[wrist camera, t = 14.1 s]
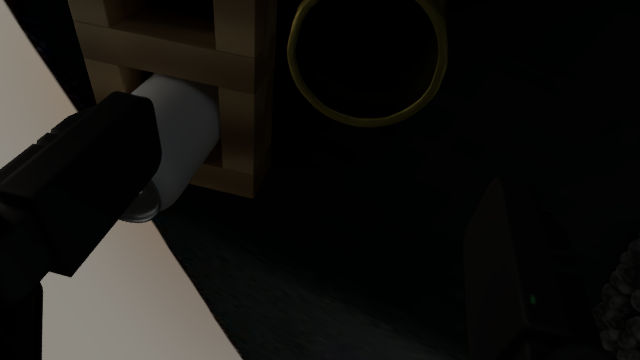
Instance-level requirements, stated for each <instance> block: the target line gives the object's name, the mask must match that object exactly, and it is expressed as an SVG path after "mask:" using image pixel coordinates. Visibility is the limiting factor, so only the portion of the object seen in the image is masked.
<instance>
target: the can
mask: <svg viewBox="0 0 640 360" xmlns="http://www.w3.org/2000/svg"><path fill="white" fill-rule="evenodd" d="M131 94H133V95H138V96H142V97H146V98H149V99H150V100H151V101H152V103H153V105H154V110H155V115H156V121H157V126H158V132H159V137H160V143H161V148H162V158H161V163H160V166H159V168H158V171H157V172H156V174H155V175H154V176H153V178H152V179H151V180H150V181H149V183H148V184H147V185H146V186H145V187H144V189H143V190H142V191H141V192H140V194H139V195H138V196H137V197H136V199H135V200H134V201H133V202H132V203H131V205H130V206H129V207H128V208H127V210H126V211H125V212H124V213H123V214H122V216H121V217H120V218H119V220H122V221H126V222H131V223H143V222H147V221H150V220H152V219H154V218H155V217H156V216H157V215H158V213H159V212H160V211H162V210H164V209H166V208H168V207H169V206H171V205H172V204H173V203H174V202H175V201H176V200H177V199H178V197H179V196H180V195H181V193H182V192H183V190H184V189H185V188H186V186H187V185H188V183H189V182H190V181H191V179H192V178H193V176H194V175H195V174H196V172H197V171H198V169H199V168H200V166H201V165H202V164H203V162H204V161H205V159H206V158H207V156H208V155H209V154H210V152H211V151H212V149H213V148H214V146H215V145H216V144H217V142H218V141H219V139H220V138H221V128H220V110H219V92H218V86H213V85H208V84H204V83H199V82H194V81H190V80H185V79H181V78H176V77H171V76H167V75H162V74H158V73H154V74H153V75H152V76H151V77H149V78H148V79H147V80H146V81H145V82H144V83H143V84H141V85H140V86H139V87H138V88H137V89H136V90H134V91H133V92H132V93H131Z"/></svg>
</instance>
